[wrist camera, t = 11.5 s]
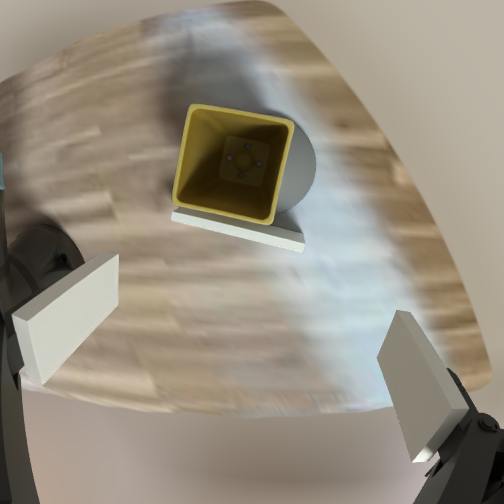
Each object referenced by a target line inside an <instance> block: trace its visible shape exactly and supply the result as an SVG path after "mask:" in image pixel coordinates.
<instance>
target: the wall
mask: <svg viewBox="0 0 504 504" xmlns="http://www.w3.org/2000/svg"><path fill="white" fill-rule="evenodd" d="M171 221H175V222H179V223H183V224H187V225H191V226H196V227H200V228H204V229H208V230H212V231H216V232H220V233H224V234H228V235H232V236H236V237H240V238H245V239H249V240H253V241H257V242H261V243H265V244H269V245H273V246H277V247H281V248H285V249H289V250H293V251H297V252H301V253H303V250H304V246H305V240H304V235H303V234H302V233H299V232H295V231H291V230H287V229H283V228H279V227H275V226H271V225H263V224H257V223H253V222H249V221H245V220H241V219H237V218H232V217H228V216H223V215H219V214H214V213H210V212H204V211H200V210H195V209H189V208H185V207H179V208H178V209H176V210H174V211H172V217H171Z"/></svg>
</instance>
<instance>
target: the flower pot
mask: <svg viewBox="0 0 504 504" xmlns="http://www.w3.org/2000/svg"><path fill="white" fill-rule="evenodd" d="M294 127H295V126H294V122H293V121H292V120H289V119H285V118H279V117H274V116H269V115H264V114H259V113H253V112H248V111H242V110H237V109H231V108H224V107H218V106H212V105H205V104H197V103H194V104H191V105H190V106H189V108H188V112H187V116H186V121H185V126H184V131H183V136H182V141H181V146H180V152H179V158H178V163H177V168H176V174H175V180H174V185H173V191H172V203H173V204H174V205H176V206H180V207H185V208H189V209H195V210H200V211H204V212H210V213H214V214H219V215H223V216H228V217H232V218H237V219H241V220H245V221H249V222H253V223H257V224H263V225H270V224H271V223H272V222H273V220H274V215H275V210H276V205H277V200H278V195H279V190H280V185H281V181H282V176H283V172H284V168H285V164H286V160H287V156H288V152H289V147H290V144H291V140H292V136H293V132H294ZM246 144H249V145H250V148H249V149H246V148H245V145H246ZM228 156H232V160H231V161H229V160H227V157H228ZM257 162H261V163H262V165H261V166H260V167H258V166H257V165H256V164H257ZM240 173H243V174H244V177H243V178H240V177H239V174H240Z"/></svg>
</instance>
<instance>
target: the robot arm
mask: <svg viewBox="0 0 504 504" xmlns="http://www.w3.org/2000/svg"><path fill="white" fill-rule="evenodd" d="M4 190H5V184H4V181H3V156H2V153H1V151H0V504H40V502H39V498H38V494H37V490H36V486H35V482H34V478H33V473H32V468H31V463H30V458H29V452H28V446H27V439H26V432H25V424H24V416H23V406H22V393H21V378H20V374H19V370H20V369H21V368H22V367H23V366H24V367H25V370H26V374H27V377H28V378H29V379H31V380H33V381H35V382H37V383H39V384H41V385H44V384H45V383H46V382H47V380H48V379H49V378H50V377H51V376H52V375H53V374H54V373H55V371H56V370H57V369H58V368H59V367H60V366H61V365H62V364H63V363H64V362H65V360H66V359H67V358H68V357H69V356H70V355H71V354H72V353H73V352H74V351H75V350H76V349H77V348H78V346H79V345H80V344H81V343H82V342H83V341H84V340H85V339H86V338H87V337H88V336H89V335H90V334H91V333H92V332H93V331H94V329H95V328H96V327H97V326H98V325H99V324H100V323H101V322H102V321H103V320H104V319H105V318H106V317H107V316H108V315H109V314H110V313H111V312H112V311H113V310H114V309H115V308H116V307H117V306H118V261H119V254H118V253H114V252H110V251H106V250H105V251H103V252H102V253H100V254H99V255H97V256H96V257H94V258H92V259H91V260H89V261H88V262H86V263H84V261H83V258H82V256H81V254H80V252H79V251H78V249H77V247H76V246H75V245H74V243H73V242H72V241H71V240H70V238H69V237H68V236H67V235H66V234H64V233H63V232H62V231H61V230H59V229H57V228H56V227H53V226H51V225H46V224H39V225H36V226H33V227H31V228H28V229H26V230H24V231H23V232H21V233H20V234H19V235H18V237H17V238H16V239H15V240H14V241H13V242H12V243H11V244H10V245H9V246H8V248H7V240H6V228H5V213H4ZM377 360H378V362H379V365H380V368H381V371H382V373H383V376H384V379H385V382H386V384H387V387H388V390H389V393H390V396H391V399H392V402H393V405H394V407H395V410H396V414H397V417H398V420H399V423H400V426H401V429H402V432H403V435H404V438H405V442H406V445H407V448H408V451H409V455H410V458H411V461H412V462H424V461H429V460H430V459H431V458H432V457H433V456H434V454H435V453H436V452H437V451H438V453H439V456H440V459H439V460H438V462H437V463H436V464H435V465H434V466H433V467H432V468H431V469H430V470H429V471H428V472H427V473H426V475H425V476H426V477H427V476H428V475H429V474H430V475H429V477H428V479H427V480H426V482H425V484H424V486H423V487H422V489H421V491H420V493H419V494H418V496H417V498H416V499H415V501H414V503H413V504H504V429H500V427H499V424H498V422H497V421H496V420H495V419H494V418H493V417H491V416H490V415H488V414H485V413H479V412H478V411H477V409H476V407H475V405H474V404H473V402H472V400H471V399H470V397H469V395H468V393H467V392H466V390H465V388H464V387H463V386H462V383H461V382H460V380H459V378H458V377H457V375H456V374H455V373H453V372H452V371H451V370H450V369H449V368H446V367H445V365H444V364H443V362H442V360H441V359H440V357H439V356H438V354H437V352H436V351H435V349H434V348H433V346H432V344H431V343H430V341H429V340H428V338H427V337H426V335H425V334H424V332H423V330H422V329H421V327H420V326H419V324H418V323H417V321H416V320H415V318H414V317H413V315H412V314H411V312H406V311H400V310H396V313H395V316H394V318H393V321H392V323H391V326H390V328H389V330H388V333H387V335H386V338H385V340H384V342H383V345H382V347H381V349H380V351H379V354H378V356H377Z"/></svg>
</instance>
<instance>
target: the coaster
mask: <svg viewBox="0 0 504 504" xmlns="http://www.w3.org/2000/svg"><path fill="white" fill-rule="evenodd" d="M264 115H269V116H274V117H279V118H283V117H280V116H277V115H271V114H264ZM294 126H295V127H294V132H293V136H292V140H291V144H290V147H289V152H288V156H287V160H286V164H285V168H284V172H283V176H282V181H281V185H280V190H279V195H278V200H277V205H276V210H275V214H278V213H281V212H284V211H286V210H288V209H290V208H292V207H293V206H295V205H296V204H298V203H299V202H300V201H301V200H302V199H303V198H304V197H305V196H306V194H307V193H308V191H309V190H310V188H311V186H312V183H313V180H314V177H315V172H316V158H315V153H314V149H313V147H312V144H311V142H310V140H309V138H308V137H307V136H306V134H305V133H304V132H303V131H302V130H301V129H300V128H299V127H298V126H297V125H296V124H294ZM245 148H246V149H249V148H250V145H249V144H246V145H245ZM227 160H229V161H231V160H232V156H228V157H227ZM256 165H257V166H258V167H260V166H261V165H262V163H261V162H257V164H256ZM239 177H240V178H243V177H244V174H243V173H240V174H239Z"/></svg>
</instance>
